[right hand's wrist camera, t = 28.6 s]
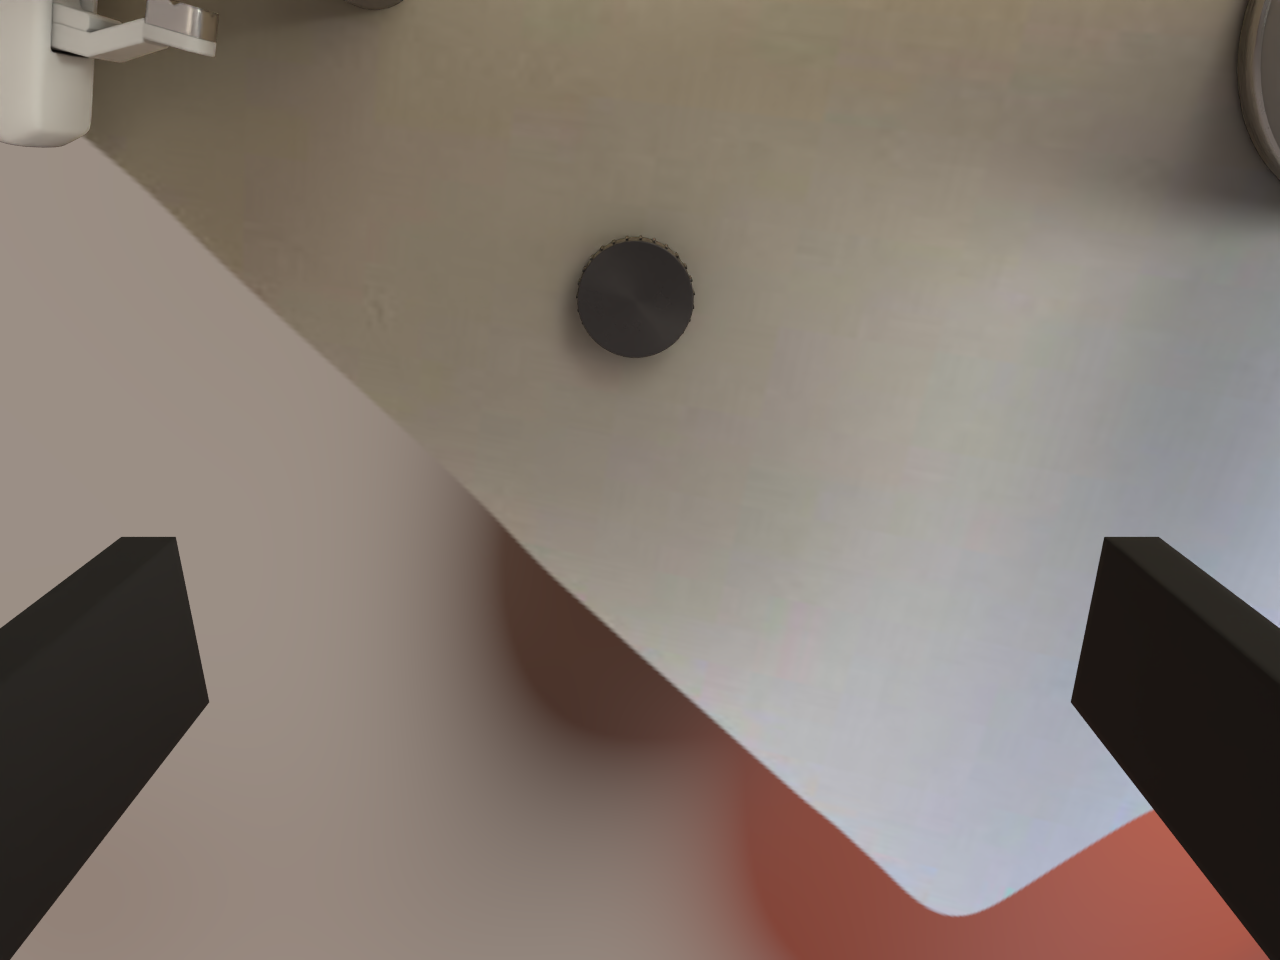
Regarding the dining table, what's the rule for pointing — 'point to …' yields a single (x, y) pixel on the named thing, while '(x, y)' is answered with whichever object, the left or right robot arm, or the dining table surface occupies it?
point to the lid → (635, 297)
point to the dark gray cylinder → (374, 3)
